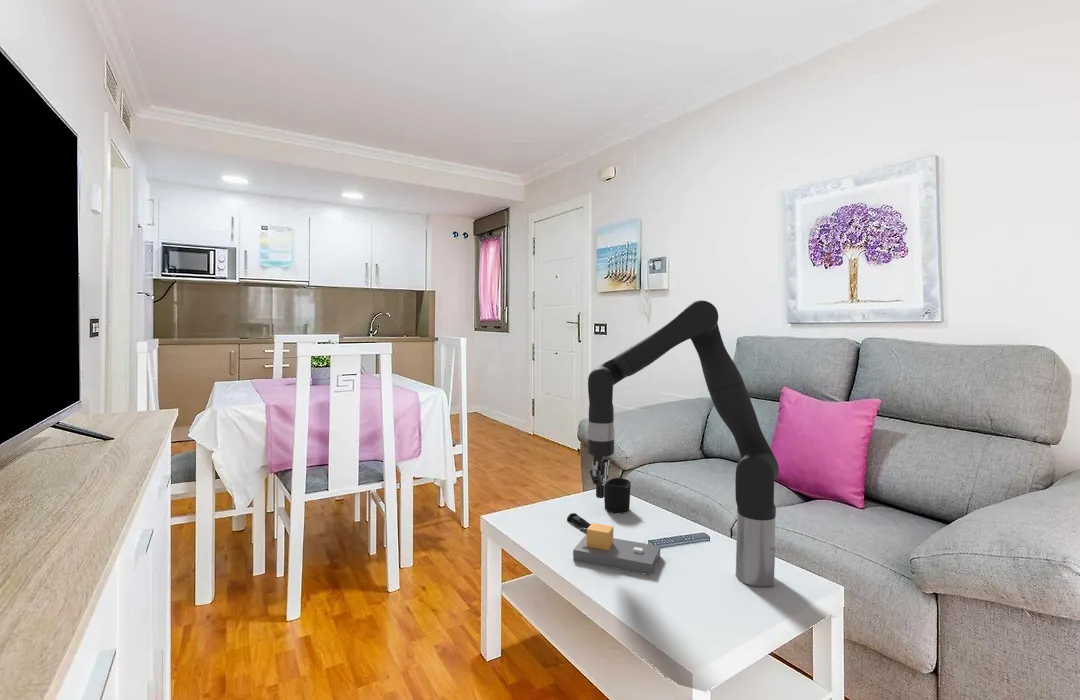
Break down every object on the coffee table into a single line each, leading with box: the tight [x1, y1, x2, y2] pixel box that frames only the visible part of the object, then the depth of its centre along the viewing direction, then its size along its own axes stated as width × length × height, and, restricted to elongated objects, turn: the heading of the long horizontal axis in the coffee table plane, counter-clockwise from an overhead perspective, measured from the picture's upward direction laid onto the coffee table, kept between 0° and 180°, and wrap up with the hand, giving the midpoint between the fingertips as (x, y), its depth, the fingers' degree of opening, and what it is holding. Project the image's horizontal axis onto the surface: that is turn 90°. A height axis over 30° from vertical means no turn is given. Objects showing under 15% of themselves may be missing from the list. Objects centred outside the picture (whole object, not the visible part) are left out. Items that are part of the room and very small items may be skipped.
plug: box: [579, 522, 614, 550], centre depth 151 cm, size 9×5×8 cm, turn 66°
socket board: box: [572, 533, 661, 576], centre depth 148 cm, size 22×12×4 cm, turn 67°
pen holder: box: [603, 477, 632, 514], centre depth 186 cm, size 9×9×10 cm
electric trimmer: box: [566, 512, 592, 529], centre depth 170 cm, size 4×16×3 cm, turn 27°
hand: (600, 497), depth 149 cm, fingers closed
